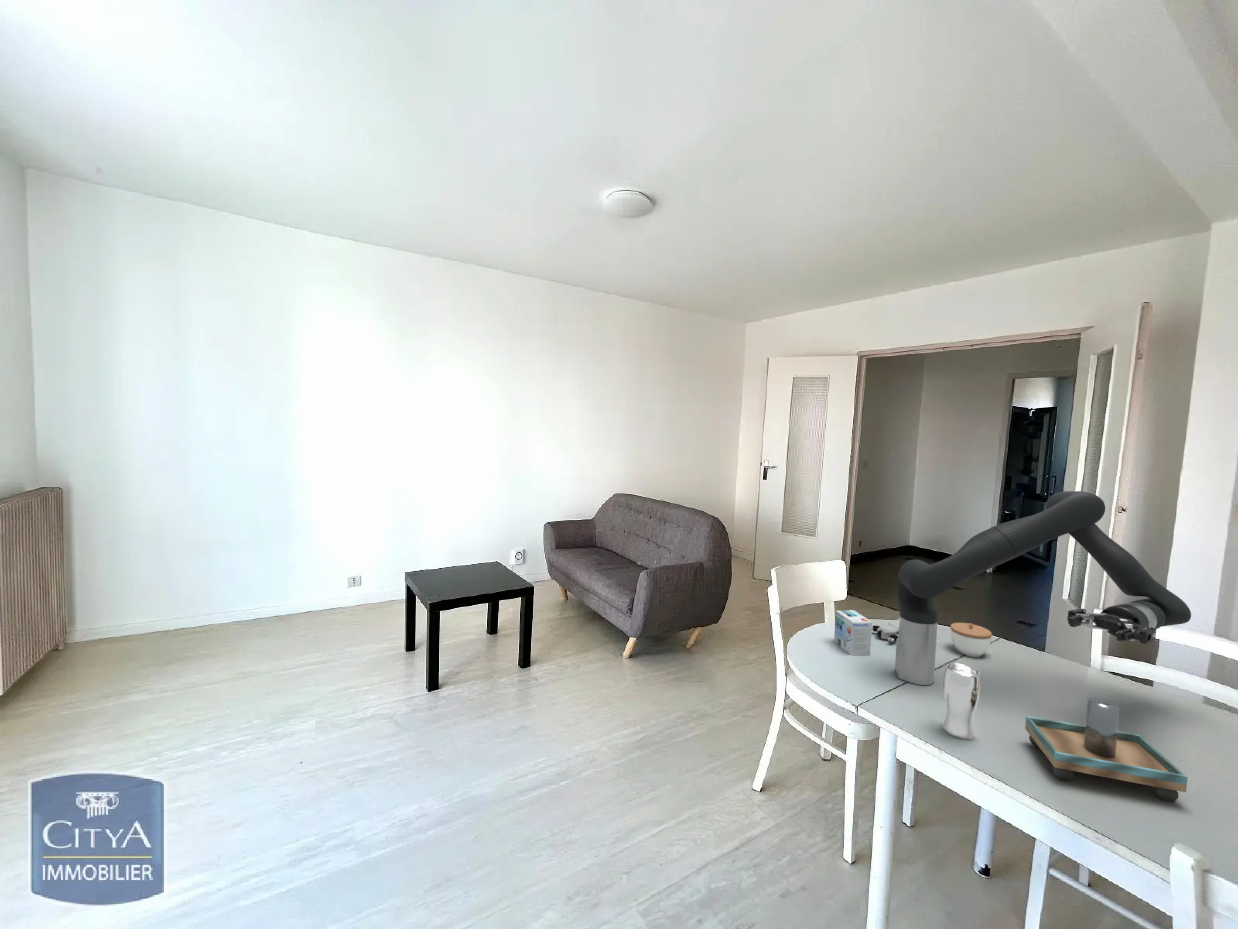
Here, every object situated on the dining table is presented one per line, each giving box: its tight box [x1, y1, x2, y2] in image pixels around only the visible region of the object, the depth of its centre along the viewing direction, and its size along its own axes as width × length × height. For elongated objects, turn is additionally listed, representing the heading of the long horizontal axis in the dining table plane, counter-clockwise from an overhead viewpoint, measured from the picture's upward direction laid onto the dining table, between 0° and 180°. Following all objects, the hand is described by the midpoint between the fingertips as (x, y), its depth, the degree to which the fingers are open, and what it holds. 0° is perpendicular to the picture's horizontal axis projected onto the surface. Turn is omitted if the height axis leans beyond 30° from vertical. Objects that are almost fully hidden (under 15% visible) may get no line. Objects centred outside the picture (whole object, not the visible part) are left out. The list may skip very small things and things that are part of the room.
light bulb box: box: [833, 609, 873, 656], centre depth 162 cm, size 11×7×11 cm, turn 5°
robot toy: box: [871, 618, 899, 643], centre depth 171 cm, size 12×4×15 cm
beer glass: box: [942, 662, 981, 741], centre depth 117 cm, size 7×7×15 cm
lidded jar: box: [949, 622, 993, 658], centre depth 160 cm, size 11×11×9 cm
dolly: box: [1024, 715, 1188, 803], centre depth 104 cm, size 20×14×6 cm
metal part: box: [1083, 696, 1121, 758], centre depth 104 cm, size 5×5×10 cm
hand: (1094, 629), depth 115 cm, fingers open, 8 cm apart
